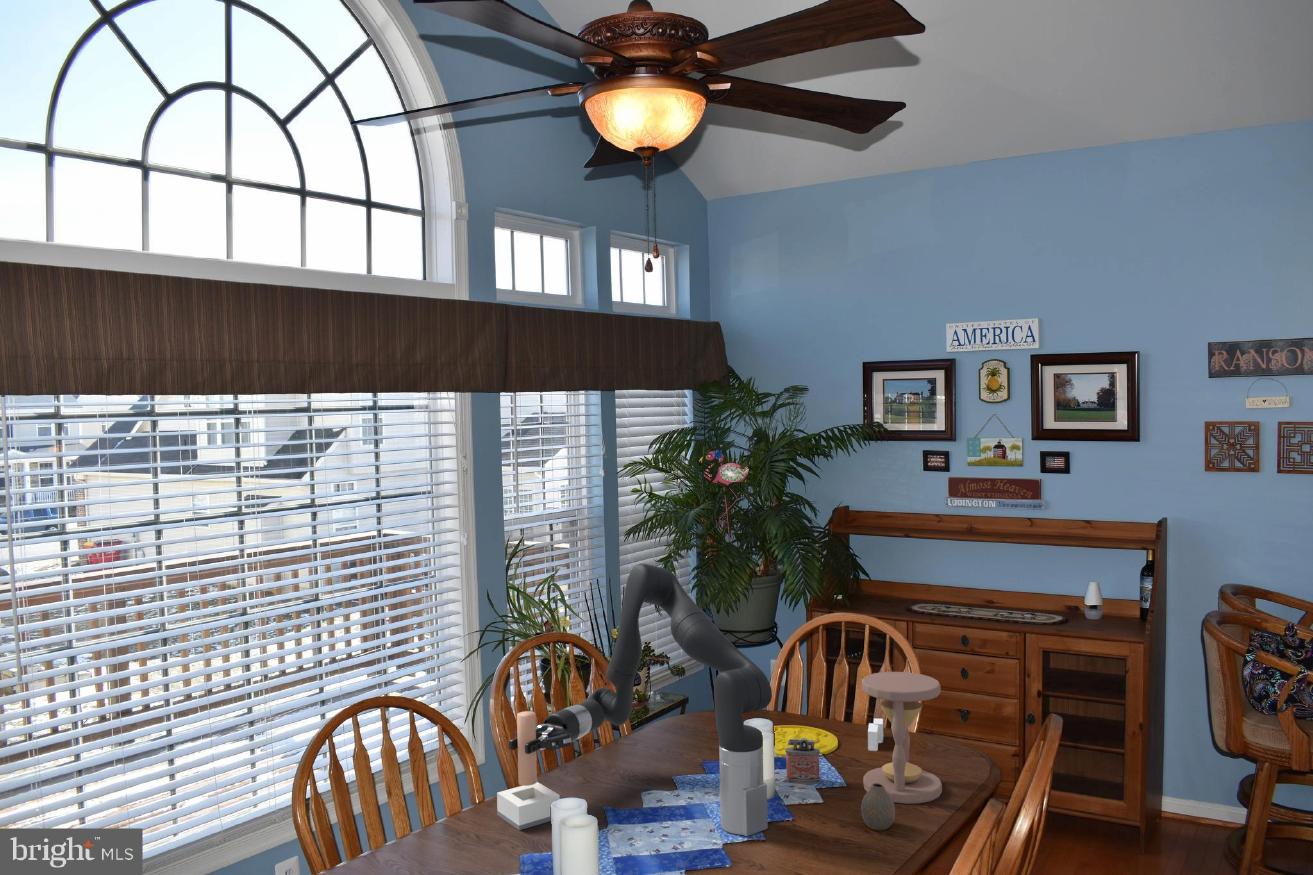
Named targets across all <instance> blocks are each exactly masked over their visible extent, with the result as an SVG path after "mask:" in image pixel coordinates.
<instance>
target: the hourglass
mask: <svg viewBox="0 0 1313 875" xmlns="http://www.w3.org/2000/svg"><path fill="white" fill-rule="evenodd" d="M941 687H942V686H941V684H940V681H939V680H937V679H936V678H934V677H932V676H928V675H925V674H921V673H917V672H916V673H915V672H909V671H908V672H905V671H883V672H882V671H880V672H874V673H870V674H867V675H866V676H864V677H863V678H862V679H861V689H862V691H863V692H864V693H865V694H866V695H867V696H870V697H873V698H877V699H880V700H881V701H880V702H879V704H880V708H881V710H882V712H883V714H884V715H885V716H886V717H887V719H888V721H889V722H890V723H891V733H892V736H893V740H894V748H893V751H892V755H891V756H892V757H891V758H892V760H891V762H888V763H886V764H883V765H882V767H877V768H873V769H871V770H868V771H867V772H866V773H865V774H864V776H863V788H864V790H865V791H866V793H867V792H868V791H869V789H870V788H871V786H872V784H874V783H880V784H883V786H884V788H885V790H886V791H887V792H888V794H889V795H890V796H891V798H892V800H893V802H894V804H895V803H896V804H905V805H907V804H908V805H909V804H913V805H914V804H923V803H928V802H932V801H934V800H936V799H939V798H940V795H941V794H942V793H943V784H942V781H941V779H940V778H939V777H937V776H936V775H935V774H933V773H932V772H928V771H926V770H923V769H922V768H921V767H920V766H918V765H915V764H913V763H910V749H911V748H910V746H911V737H910V734H909V730H908V729H909V727H910V726H911V725H912V724H913V722H914V720H916V718H917V716H918V715H919V714H920V712H921V711H922V707H923V704H922V703H921V702H922V701H929V700H932V699H934V698H935V699H936V698H937V697H938V696H939V695H940V694H941V692H942V691H941V690H942V689H941Z"/></svg>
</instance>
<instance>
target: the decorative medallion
mask: <svg viewBox="0 0 1313 875" xmlns="http://www.w3.org/2000/svg"><path fill="white" fill-rule="evenodd" d="M773 726H774V731H775V732H774V733H775V754H776V756H775V757H777V756H785V757H786V753H785V749H786V748H789V747H794V745H788V740H789V739H798V740H801V739H802V738H806V739H807V740H814V748H818V749H820V754H825V755H827V754H830V753H832V752H834V751H835V750H836V749H838V746H839V740H838V738H837V736H836V735H834V734H833V733H831V732H829V731H827V730H824V729H821V728H816V727H812V726H806V725H792V724H791V725H789V724H787V725H785V724H784V725H782V724H781V725H773ZM799 746H800V745H797V747H799ZM809 747H810V746H809ZM785 757H784V758H785Z"/></svg>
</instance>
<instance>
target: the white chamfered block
mask: <svg viewBox="0 0 1313 875" xmlns="http://www.w3.org/2000/svg"><path fill="white" fill-rule="evenodd" d="M883 742H884V718H875V717H874V718H873V723H871V722H869V723H868V729H867V750H868V751H871V752H872V751H873V752H878V748H879V744H882V743H883Z"/></svg>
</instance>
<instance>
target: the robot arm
mask: <svg viewBox="0 0 1313 875" xmlns="http://www.w3.org/2000/svg"><path fill="white" fill-rule="evenodd" d="M625 584H626V585H625V589H624V595H623V601H622V606H621V613H620V619H619V626H618V632H617V637H616V641H615V645H614V649H613V650H612V654H611V658H610V661H609V664H608V666H607V670H606V678H607V680H608V681H609V682H611V684H613V687H615V691H614V690H611V689H610V688H607V687H599V688H596V689H595V690H594V691H593V692H592V693H591V694H590V695H589V696H588V697H587V698H586V699H585V700H584V701H582V702H580V703H578V704H575V705H571V706H567V707H565V708H562V709H560V710H558V711H556V712H553V713H552V714H549V715H548V716H546V718H545V719H544V721H543V723H541V724H538V725H536V739H535V740H533V741H531V742H529V743H526V744H525V753H526V754H530V753H533V752H535V751H536V752H538V751H544V750H545V749H546V751H548V752H551V751H555V750H558V749H561V748H566V747H569V746H571V745H572V743H573V742H575V741H577V740H579V739H581V738H583V737H584V736H586V735H587V734H589V733H591V732H594V731H596V730H598V729H599V728H600V727H602V725H603V724H604V722H605V721H606V722H608V723H610V724H612V725H613V726H617V727H618V726H619V727H620V726H622V725H624V724H626V722H628V720H629V719H630V717H631V714H632V712H633V704H634V687H635V678H636V675H637V672H638V669H639V666H640V663H641V658H642V654H643V643H642V638H641V637H642V636H641V632H640V623H639V619H640V618H639V617H640V612H641V610H642V607H643V604H644V603H646V604H650V605H655V606H657V607H660V608H661V609H662V610H664V612H665V613H666V614H667V615H668V616H669V617H670V632H671V635H672V637H673V639H674V640H675V643H676V644H678V646H679V647H680V648H681V649H682V651H683V652H684V653H685V654H686V655H687V656H688V657H690V658H691V659H692V660H694V661H696V662H698V663H701V664H702V665H703V666H707V667H708V668H712V669H714V670H715V671H718V672H719V673H718V674H717V676H716V678H715V681H714V686H713V699H714V713H715V727H716V731H717V735H718V743H719V744H718V748H719V749H718V751H719V755H718V756H719V804H720V805H719V806H720V807H719V808H720V809H719V810H720V811H719V812H720V827H721V829H722V830H724V831H725V832H727V833H730V834H733V835H734V834H735V835H741V836H744V837H748V836H752V835H754V834H757V833H759V832H763V831H765V830H767V829H768V785H767V783H765V782H764V753H763V735H762V732H761V731H760V730H759V728H757V727H755V726H752V725H747V724H744V721H743V715H744V714H748V713H753V712H758V711H760V710H763V709H765V708H767V707H768V706H769V705H770V704H771V701H772V698H773V691H772V686H771V683H770V680H769V679H768V677H767V676H766V674H765V673H764V671H763V670H762V669H761V668H760V667H759V666H757V665H756V663H754V662H753V661H752V660H751V659H750V658H748V657H747V656H746V655H745V654H743V652H741V651H740V649H738V648H737V647H736V646H735V645H734V644H733V643H732V642H731V641H730V640H729V639H728V638H727V637H726V635H724V634H723V633H722V631H720V629H719V628H718V627H717V625H716V624H715V623H714V622H713V621H712V619H710V618H709V617H708V615H707V614H706V613H705V612H704V611H703V610H702V609H701V608H700V607H699V606H698V605H697V603H696V602H694V600H693V599H692V598H691V597H690V596H689V595H688V594H687V591H685V589H684V588H683V585H682V584H681V582H679V580H678V579H677V577H676V576H675V575H674V574H673V572H672V571H670V570H669V569H667V568H665V567H662V566H657V565H652V564H648V563H637V564H636V565H634V566H633V567H632V569H631V570H630V571H629V574H628V577H627V581H626V583H625ZM514 734H515V737H514V738H512V739H509V741H508V749H509V750H510V751H516V750H518V737H517V730H516V731H515V733H514Z"/></svg>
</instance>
